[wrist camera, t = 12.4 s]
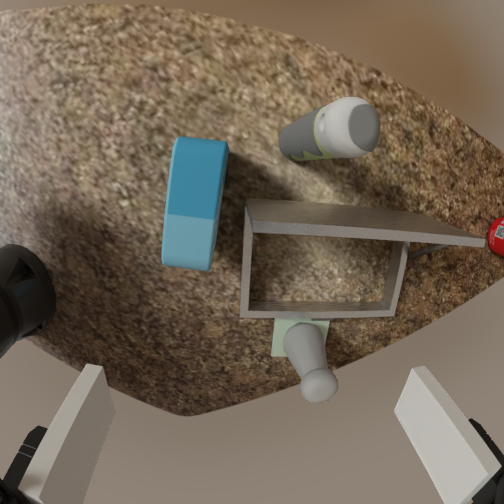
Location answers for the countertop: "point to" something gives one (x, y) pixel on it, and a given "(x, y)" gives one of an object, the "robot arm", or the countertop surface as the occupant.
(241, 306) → the case
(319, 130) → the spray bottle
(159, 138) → the countertop surface
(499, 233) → the beverage can
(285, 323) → the pad
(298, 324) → the salt shaker
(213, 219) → the data package
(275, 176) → the countertop surface
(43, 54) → the countertop surface
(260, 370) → the countertop surface
